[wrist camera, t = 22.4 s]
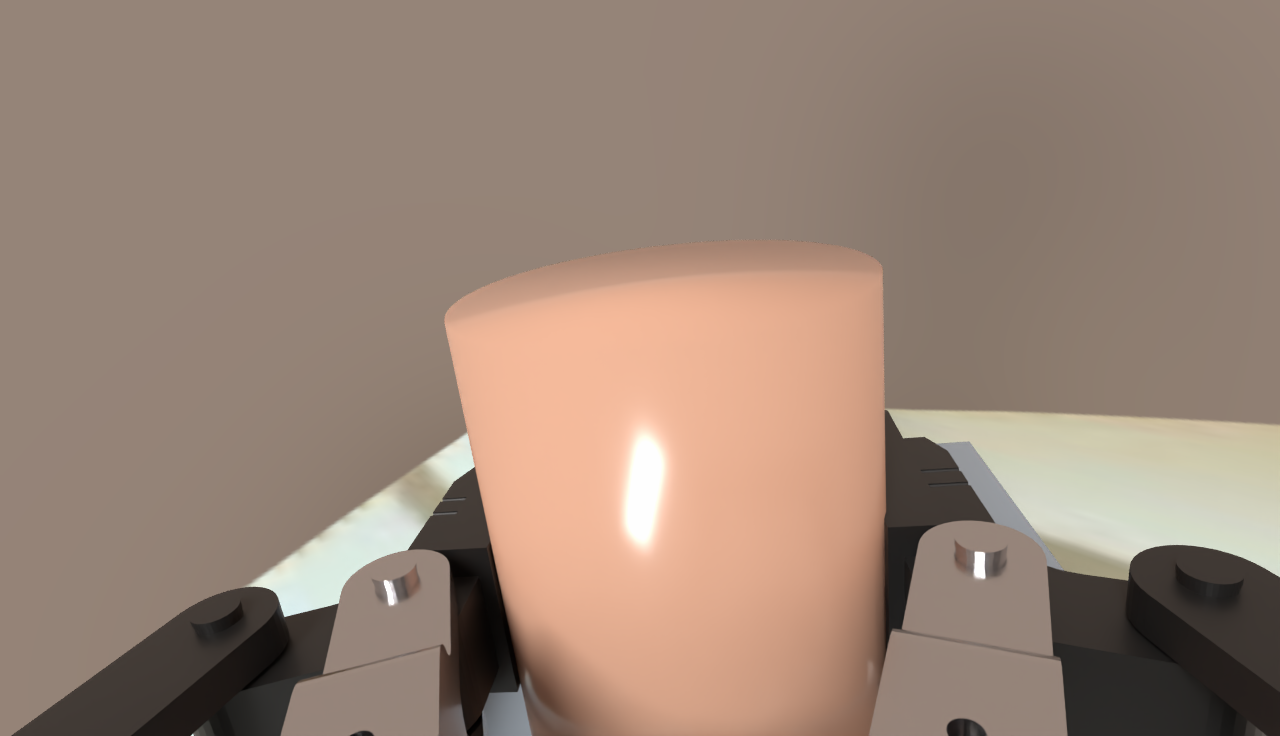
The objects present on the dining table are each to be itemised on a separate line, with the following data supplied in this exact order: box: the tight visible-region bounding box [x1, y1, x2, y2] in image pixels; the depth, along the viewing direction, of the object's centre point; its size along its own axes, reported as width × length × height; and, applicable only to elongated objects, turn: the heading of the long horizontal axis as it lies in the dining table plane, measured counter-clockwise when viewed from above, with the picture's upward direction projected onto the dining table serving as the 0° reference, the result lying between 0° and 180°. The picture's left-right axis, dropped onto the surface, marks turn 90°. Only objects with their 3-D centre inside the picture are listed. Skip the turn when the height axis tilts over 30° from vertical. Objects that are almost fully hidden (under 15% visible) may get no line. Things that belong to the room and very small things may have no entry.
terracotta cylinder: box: [445, 240, 886, 736], centre depth 10 cm, size 5×5×10 cm
